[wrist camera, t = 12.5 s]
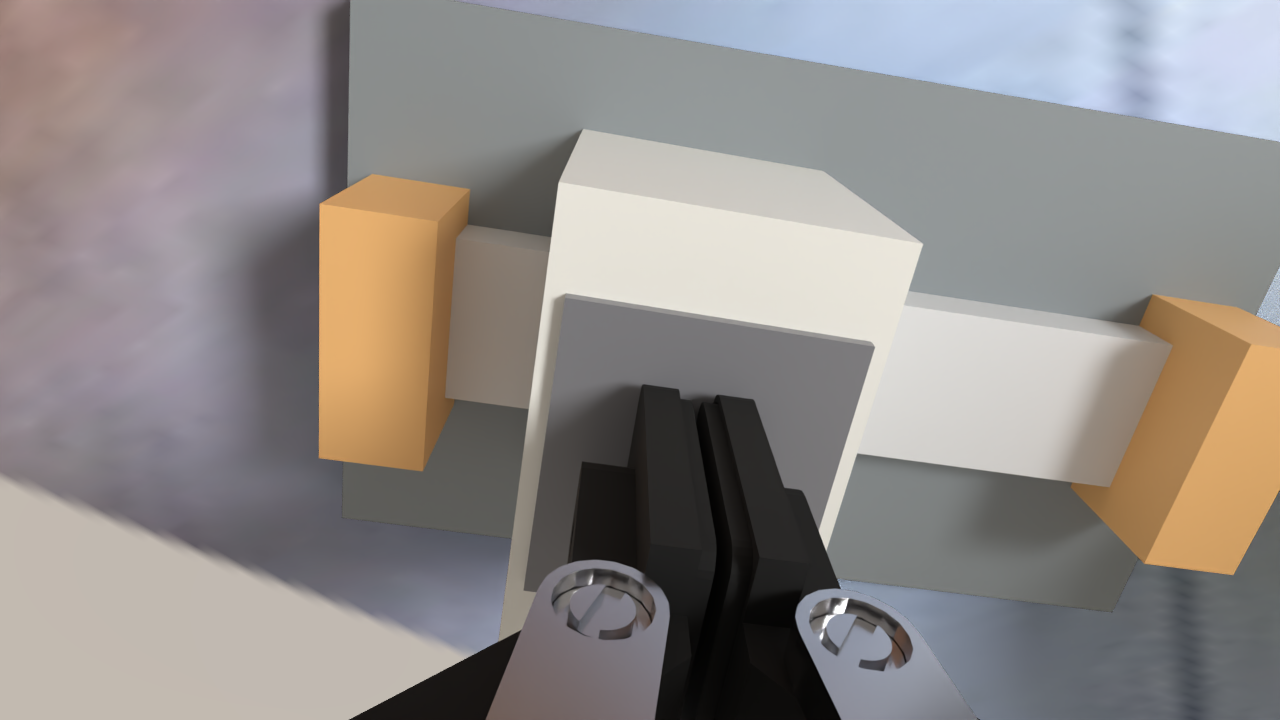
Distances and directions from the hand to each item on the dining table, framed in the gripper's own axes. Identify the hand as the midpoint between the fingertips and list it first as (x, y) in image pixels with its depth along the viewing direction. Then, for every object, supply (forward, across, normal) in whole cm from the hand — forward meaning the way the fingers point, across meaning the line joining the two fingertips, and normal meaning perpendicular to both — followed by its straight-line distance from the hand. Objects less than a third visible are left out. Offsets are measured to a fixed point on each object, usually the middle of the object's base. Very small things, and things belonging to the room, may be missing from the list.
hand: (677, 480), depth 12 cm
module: (+6, 0, 0) cm, 6 cm away
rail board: (+7, -3, 0) cm, 8 cm away
